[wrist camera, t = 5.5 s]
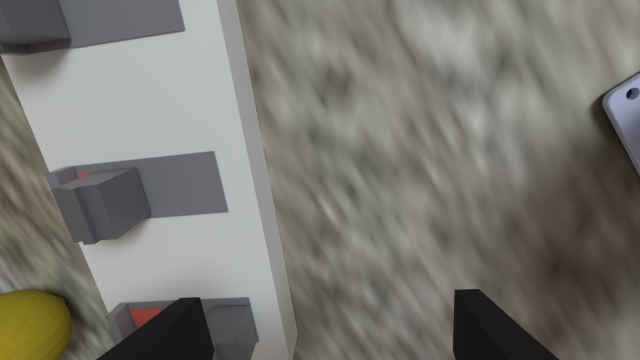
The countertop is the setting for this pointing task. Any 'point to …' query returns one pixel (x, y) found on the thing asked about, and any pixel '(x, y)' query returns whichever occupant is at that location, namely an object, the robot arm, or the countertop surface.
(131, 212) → the switch middle
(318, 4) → the countertop surface
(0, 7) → the switch near
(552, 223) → the countertop surface
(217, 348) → the switch far
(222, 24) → the switch panel
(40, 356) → the lemon
